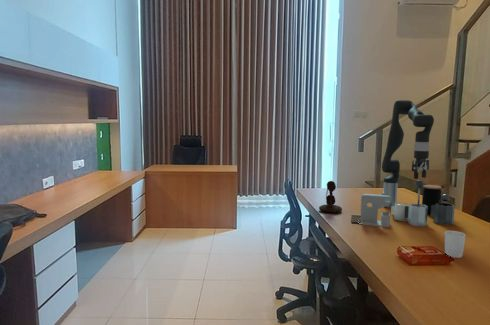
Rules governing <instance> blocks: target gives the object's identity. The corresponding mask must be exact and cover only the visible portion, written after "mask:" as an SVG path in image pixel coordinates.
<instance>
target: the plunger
mask: <svg viewBox="0 0 490 325" xmlns="http://www.w3.org/2000/svg"><path fill="white" fill-rule="evenodd" d="M414 184H415V187H416V188H418V190H417V191H418V193H417V203H416V204H417V206H415V207H421V206H419V204H420V203H421V202H420V200H421V189H422V188H424V187H423V186H424V185H425V183H424V181H423V180H421V179H420V180H419V179H417V181H415V183H414Z"/></svg>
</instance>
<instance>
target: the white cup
mask: <svg viewBox="0 0 490 325" xmlns="http://www.w3.org/2000/svg"><path fill="white" fill-rule="evenodd" d="M466 236H467V235H466V233H464V232H462V231H456V230H446V231H444V254H445V253H446V254H447V255H449V256H448V257H450V256H451V258H454V259H456V258H457V259H461V258H463V256H464V248H465V242H466ZM447 255H446V256H447Z"/></svg>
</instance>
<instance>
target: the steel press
mask: <svg viewBox="0 0 490 325" xmlns="http://www.w3.org/2000/svg"><path fill="white" fill-rule="evenodd" d="M415 206H417V203H410V204H408V206H405V216H404V218H408V220H407V224H409V225H410V226H414V227H426V226H427V225H428V215H427V214H428V206H426V205H423V204H422V203H419V206H421V207H415Z"/></svg>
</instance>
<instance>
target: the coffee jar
mask: <svg viewBox="0 0 490 325" xmlns="http://www.w3.org/2000/svg"><path fill="white" fill-rule="evenodd" d="M422 188H423V189H422V198H421V200H422V201H421V204H423V205H426V206H428V214H427V216H431V205H435V204H436V203H442V199H441V196H442V188H443V187H442V186H440V185H437V184H436V185H435V184H424V186H423V187H422Z"/></svg>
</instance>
